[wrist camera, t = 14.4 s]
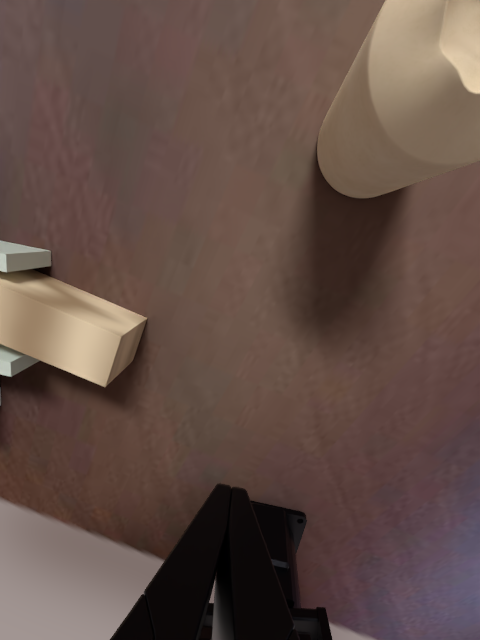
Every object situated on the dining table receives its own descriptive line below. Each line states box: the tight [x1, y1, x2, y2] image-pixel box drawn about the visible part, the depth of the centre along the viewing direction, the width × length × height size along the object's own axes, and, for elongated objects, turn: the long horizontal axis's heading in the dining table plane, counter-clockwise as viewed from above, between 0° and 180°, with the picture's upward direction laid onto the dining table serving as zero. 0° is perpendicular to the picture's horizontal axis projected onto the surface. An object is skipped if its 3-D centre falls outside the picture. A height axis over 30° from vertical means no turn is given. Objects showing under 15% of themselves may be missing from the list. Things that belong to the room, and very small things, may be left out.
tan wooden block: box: [0, 269, 147, 387], centre depth 19 cm, size 10×4×4 cm, turn 67°
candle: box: [317, 0, 480, 198], centre depth 11 cm, size 6×6×10 cm
